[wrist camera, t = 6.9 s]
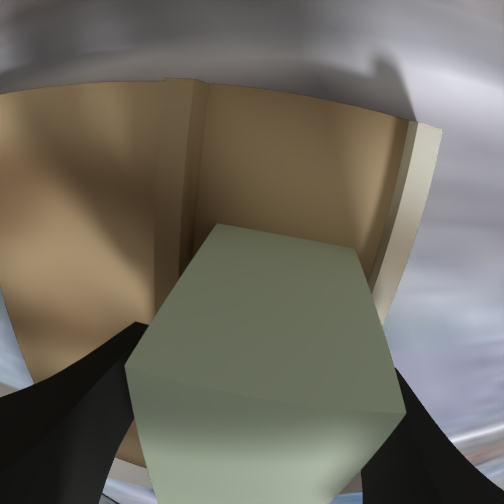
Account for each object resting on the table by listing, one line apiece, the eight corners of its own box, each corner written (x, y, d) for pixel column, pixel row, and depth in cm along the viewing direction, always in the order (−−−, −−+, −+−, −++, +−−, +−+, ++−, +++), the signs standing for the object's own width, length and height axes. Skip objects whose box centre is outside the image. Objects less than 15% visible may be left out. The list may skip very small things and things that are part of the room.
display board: (284, 484, 19) (281, 513, 17) (65, 422, 21) (51, 445, 18) (421, 126, 9) (456, 133, 7) (-2, 96, 10) (-43, 102, 8)
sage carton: (307, 393, 13) (301, 530, 7) (203, 374, 13) (158, 505, 8) (357, 249, 10) (411, 413, 4) (216, 223, 10) (124, 364, 5)
